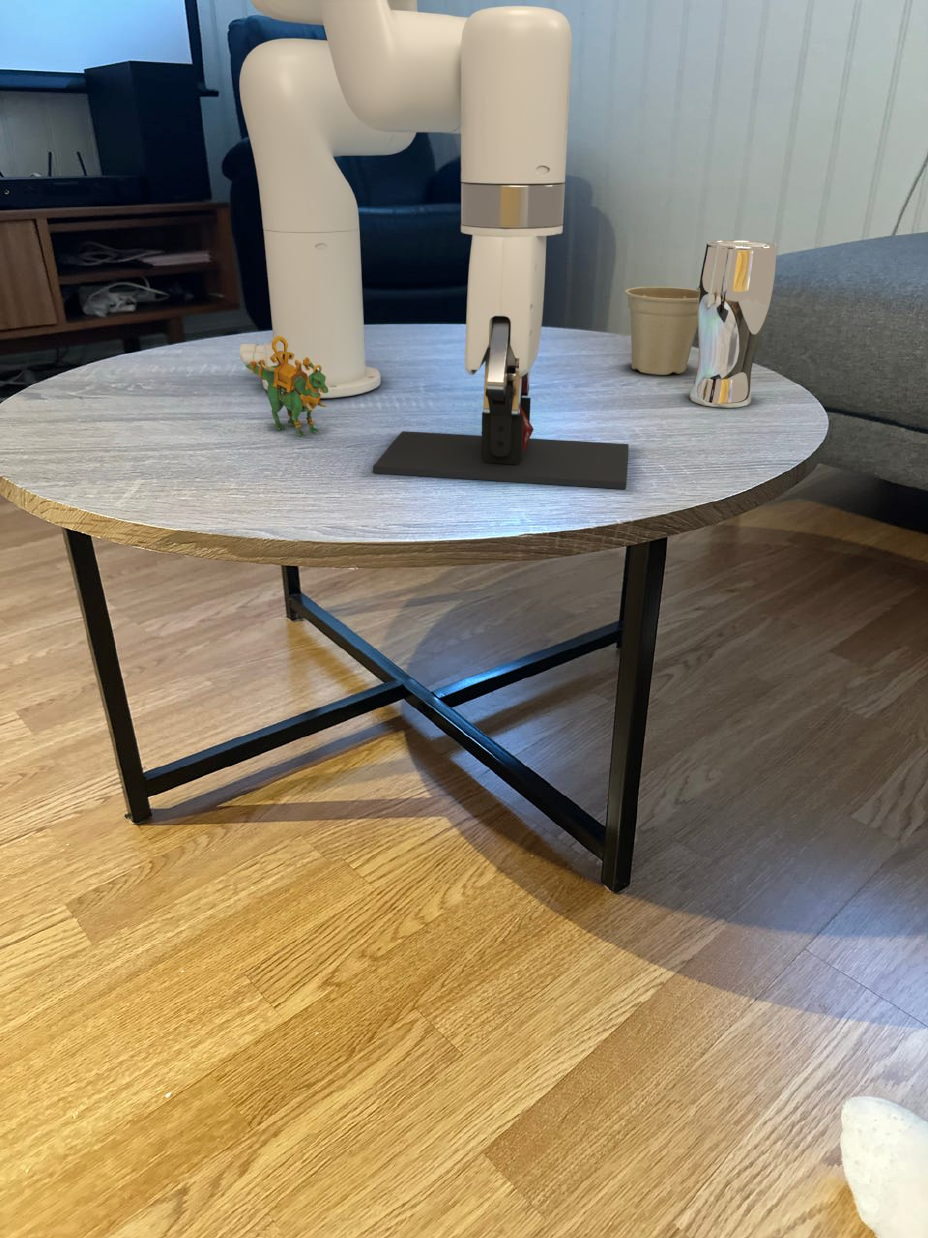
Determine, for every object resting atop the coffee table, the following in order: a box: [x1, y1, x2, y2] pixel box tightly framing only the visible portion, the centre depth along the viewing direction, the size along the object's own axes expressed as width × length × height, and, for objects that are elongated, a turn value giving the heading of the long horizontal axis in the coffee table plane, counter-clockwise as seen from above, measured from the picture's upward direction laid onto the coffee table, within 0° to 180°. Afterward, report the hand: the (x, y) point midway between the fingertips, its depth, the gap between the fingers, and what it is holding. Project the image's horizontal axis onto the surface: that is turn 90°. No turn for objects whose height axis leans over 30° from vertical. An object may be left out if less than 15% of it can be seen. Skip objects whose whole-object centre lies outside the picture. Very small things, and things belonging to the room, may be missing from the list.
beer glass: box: [689, 239, 778, 409], centre depth 90 cm, size 7×7×15 cm
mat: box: [372, 430, 630, 490], centre depth 75 cm, size 20×10×1 cm, turn 80°
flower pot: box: [624, 286, 699, 376], centre depth 103 cm, size 9×9×9 cm
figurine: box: [244, 336, 329, 437], centre depth 82 cm, size 3×12×8 cm, turn 46°
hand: (505, 450), depth 75 cm, fingers closed on dice, 4 cm apart
